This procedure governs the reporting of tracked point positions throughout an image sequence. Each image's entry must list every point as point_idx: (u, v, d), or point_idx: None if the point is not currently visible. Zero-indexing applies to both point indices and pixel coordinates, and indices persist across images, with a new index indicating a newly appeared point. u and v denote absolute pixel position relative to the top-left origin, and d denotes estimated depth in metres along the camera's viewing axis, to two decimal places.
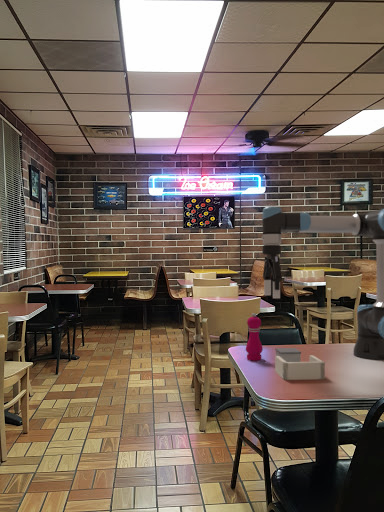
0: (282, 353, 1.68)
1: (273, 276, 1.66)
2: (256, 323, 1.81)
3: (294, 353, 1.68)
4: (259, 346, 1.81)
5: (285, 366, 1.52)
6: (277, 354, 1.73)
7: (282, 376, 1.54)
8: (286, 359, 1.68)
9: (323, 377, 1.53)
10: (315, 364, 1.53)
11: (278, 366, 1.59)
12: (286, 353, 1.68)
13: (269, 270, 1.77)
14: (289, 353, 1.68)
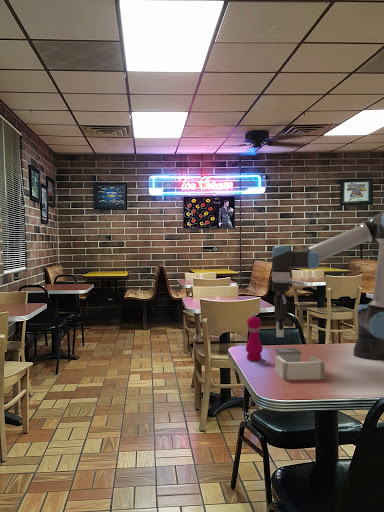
0: (282, 353, 1.68)
1: (278, 316, 1.80)
2: (256, 323, 1.81)
3: (294, 353, 1.68)
4: (259, 346, 1.81)
5: (285, 366, 1.52)
6: (277, 354, 1.73)
7: (282, 376, 1.54)
8: (286, 359, 1.68)
9: (323, 377, 1.53)
10: (315, 364, 1.53)
11: (278, 366, 1.59)
12: (286, 353, 1.68)
13: None
14: (289, 353, 1.68)
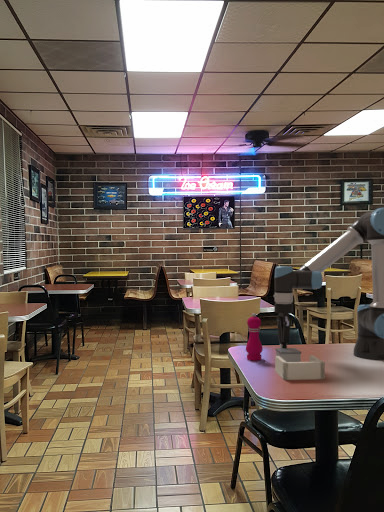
0: (282, 353, 1.67)
1: (281, 338, 1.76)
2: (256, 323, 1.81)
3: (294, 353, 1.68)
4: (259, 346, 1.81)
5: (285, 366, 1.52)
6: (277, 354, 1.72)
7: (282, 376, 1.54)
8: (286, 359, 1.68)
9: (323, 377, 1.53)
10: (315, 364, 1.53)
11: (278, 366, 1.59)
12: (286, 353, 1.68)
13: None
14: (289, 353, 1.68)
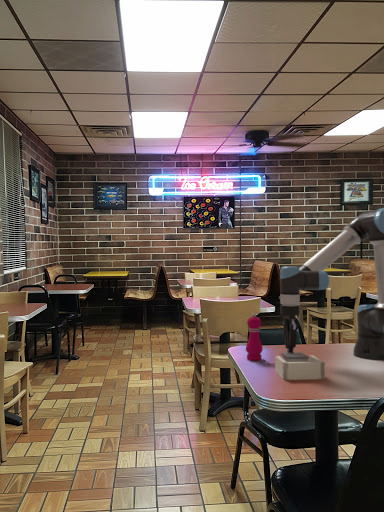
0: (289, 358, 1.59)
1: (287, 342, 1.67)
2: (256, 323, 1.81)
3: (301, 358, 1.59)
4: (259, 346, 1.81)
5: (285, 366, 1.52)
6: None
7: (282, 376, 1.54)
8: None
9: (323, 377, 1.53)
10: (315, 364, 1.53)
11: (278, 366, 1.59)
12: (293, 358, 1.59)
13: None
14: (296, 358, 1.59)
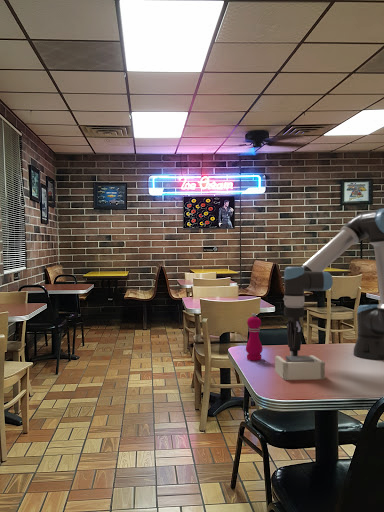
0: (293, 361, 1.54)
1: (292, 345, 1.62)
2: (256, 323, 1.81)
3: (306, 361, 1.54)
4: (259, 346, 1.81)
5: (285, 366, 1.52)
6: None
7: (282, 376, 1.54)
8: None
9: (323, 377, 1.53)
10: (315, 364, 1.53)
11: (278, 366, 1.59)
12: (298, 361, 1.54)
13: None
14: (301, 361, 1.54)
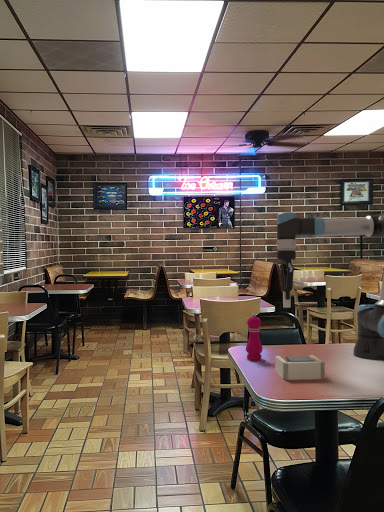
0: None
1: (284, 286, 1.72)
2: (256, 323, 1.81)
3: None
4: (259, 346, 1.81)
5: (285, 366, 1.52)
6: None
7: (282, 376, 1.54)
8: None
9: (323, 377, 1.53)
10: (315, 364, 1.53)
11: (278, 366, 1.59)
12: None
13: None
14: None
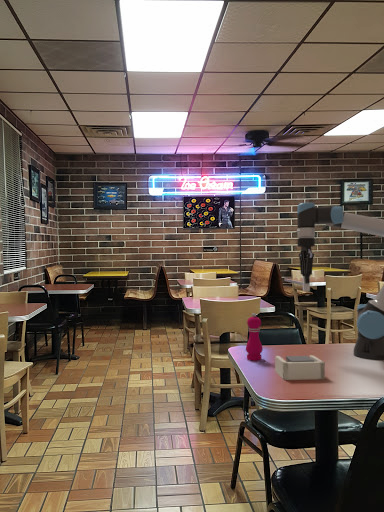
0: None
1: (304, 271, 1.86)
2: (256, 323, 1.81)
3: None
4: (259, 346, 1.81)
5: (285, 366, 1.52)
6: None
7: (282, 376, 1.54)
8: None
9: (323, 377, 1.53)
10: (315, 364, 1.53)
11: (278, 366, 1.59)
12: None
13: None
14: None
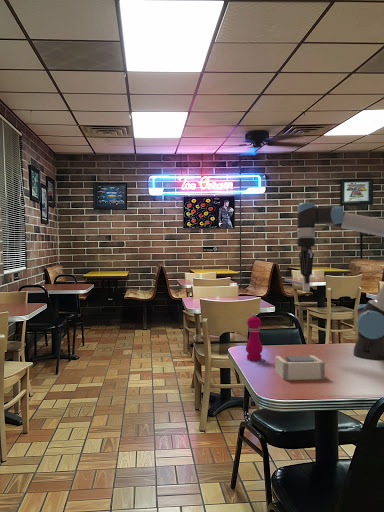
0: None
1: (304, 271, 1.86)
2: (256, 323, 1.81)
3: None
4: (259, 346, 1.81)
5: (285, 366, 1.52)
6: None
7: (282, 376, 1.54)
8: None
9: (323, 377, 1.53)
10: (315, 364, 1.53)
11: (278, 366, 1.59)
12: None
13: None
14: None
